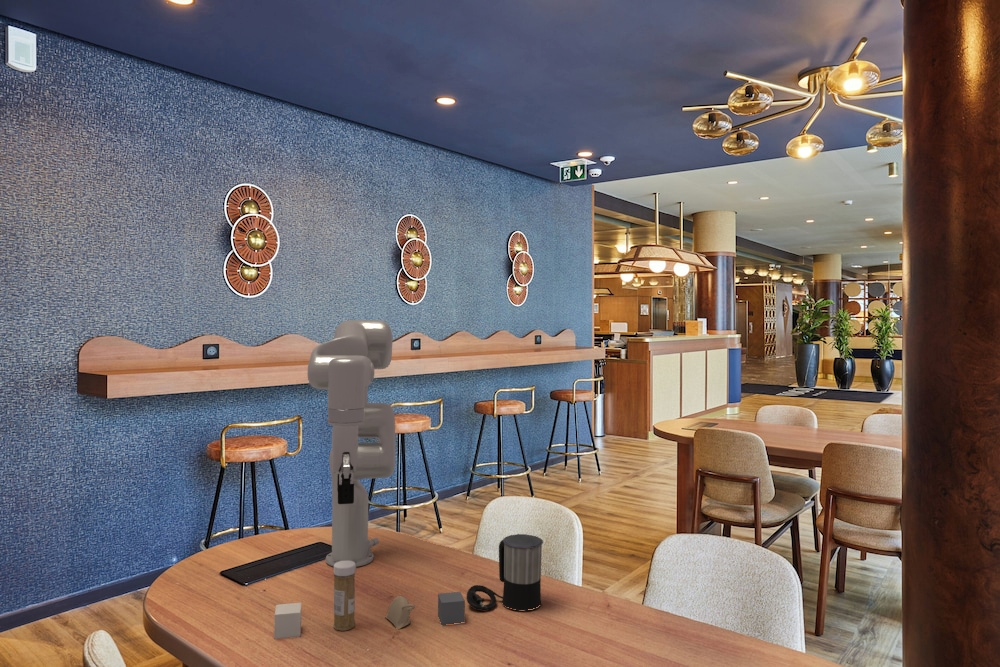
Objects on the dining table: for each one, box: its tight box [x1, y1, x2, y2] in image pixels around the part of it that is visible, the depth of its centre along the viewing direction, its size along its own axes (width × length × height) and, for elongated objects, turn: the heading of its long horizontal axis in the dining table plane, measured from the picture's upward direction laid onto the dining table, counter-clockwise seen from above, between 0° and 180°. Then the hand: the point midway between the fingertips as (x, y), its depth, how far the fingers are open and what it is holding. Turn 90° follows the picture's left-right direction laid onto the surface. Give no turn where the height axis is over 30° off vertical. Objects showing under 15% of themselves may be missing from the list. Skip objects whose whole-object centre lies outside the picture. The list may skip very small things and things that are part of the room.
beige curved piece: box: [385, 595, 416, 630], centre depth 143 cm, size 4×8×5 cm, turn 31°
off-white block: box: [273, 602, 302, 640], centre depth 138 cm, size 5×5×5 cm
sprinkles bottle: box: [333, 561, 357, 632], centre depth 141 cm, size 5×5×14 cm
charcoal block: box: [437, 591, 466, 626], centre depth 145 cm, size 5×5×5 cm
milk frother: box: [465, 533, 544, 611], centre depth 153 cm, size 14×16×15 cm
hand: (345, 497), depth 141 cm, fingers open, 9 cm apart
